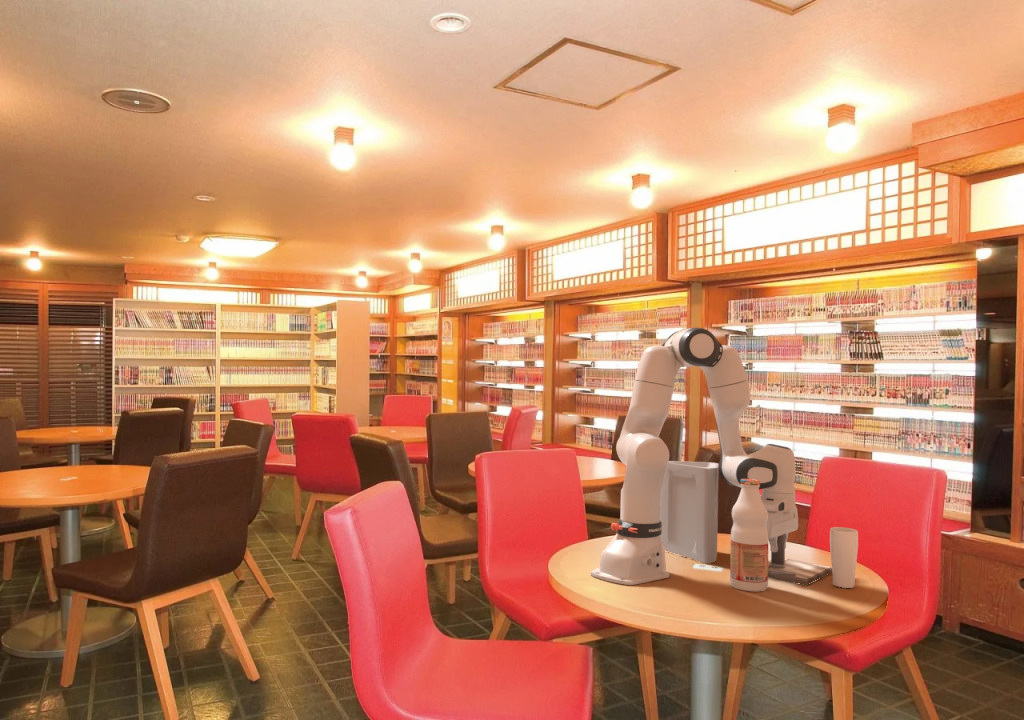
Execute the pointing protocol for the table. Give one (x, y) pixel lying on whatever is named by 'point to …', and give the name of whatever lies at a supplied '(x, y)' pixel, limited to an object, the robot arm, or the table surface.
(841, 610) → the table surface
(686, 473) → the gray plastic bin
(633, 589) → the table surface
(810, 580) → the dark grey notebook
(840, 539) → the drinking glass
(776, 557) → the marker
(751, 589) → the fruit juice
